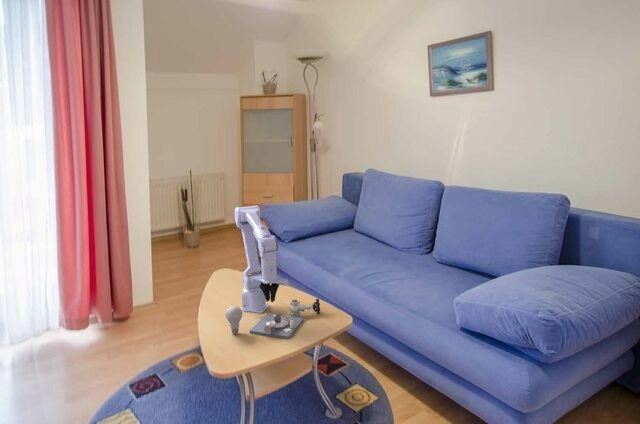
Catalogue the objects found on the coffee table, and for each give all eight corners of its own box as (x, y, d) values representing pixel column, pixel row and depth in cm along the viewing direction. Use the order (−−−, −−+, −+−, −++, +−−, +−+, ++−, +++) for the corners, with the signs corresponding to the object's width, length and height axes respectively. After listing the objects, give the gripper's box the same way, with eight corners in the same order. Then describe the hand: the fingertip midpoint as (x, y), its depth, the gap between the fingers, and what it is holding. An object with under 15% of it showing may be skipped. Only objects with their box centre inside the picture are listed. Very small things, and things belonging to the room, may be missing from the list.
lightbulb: (235, 339, 167) (234, 311, 165) (223, 335, 171) (221, 307, 168) (246, 332, 172) (245, 305, 170) (234, 328, 176) (233, 302, 173)
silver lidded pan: (271, 317, 182) (271, 308, 181) (292, 320, 179) (292, 311, 178) (256, 332, 170) (256, 323, 169) (278, 335, 167) (278, 326, 166)
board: (249, 333, 172) (249, 323, 171) (267, 315, 187) (267, 306, 186) (288, 339, 167) (288, 328, 166) (303, 320, 182) (303, 311, 181)
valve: (291, 320, 182) (320, 317, 184) (290, 304, 181) (320, 302, 183) (289, 313, 189) (317, 310, 191) (288, 298, 187) (317, 295, 189)
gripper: (247, 269, 172) (249, 302, 175) (282, 272, 168) (283, 307, 171) (255, 263, 179) (257, 295, 182) (289, 266, 174) (290, 299, 177)
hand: (270, 300), depth 176 cm, fingers closed
